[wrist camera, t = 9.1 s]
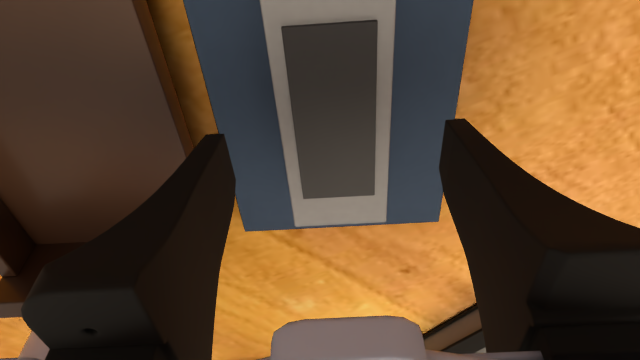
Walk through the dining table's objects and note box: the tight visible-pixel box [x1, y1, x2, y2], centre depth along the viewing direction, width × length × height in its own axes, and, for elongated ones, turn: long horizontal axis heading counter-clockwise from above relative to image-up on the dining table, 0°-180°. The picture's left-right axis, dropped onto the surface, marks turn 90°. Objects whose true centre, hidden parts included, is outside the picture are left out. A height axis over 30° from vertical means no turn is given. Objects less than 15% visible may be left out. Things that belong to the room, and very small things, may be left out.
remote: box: [260, 0, 396, 227], centre depth 18 cm, size 14×4×3 cm, turn 4°
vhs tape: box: [423, 305, 486, 354], centre depth 32 cm, size 8×14×2 cm, turn 143°
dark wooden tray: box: [0, 0, 194, 318], centre depth 17 cm, size 20×10×6 cm, turn 4°
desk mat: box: [183, 0, 473, 231], centre depth 19 cm, size 20×11×1 cm, turn 4°
